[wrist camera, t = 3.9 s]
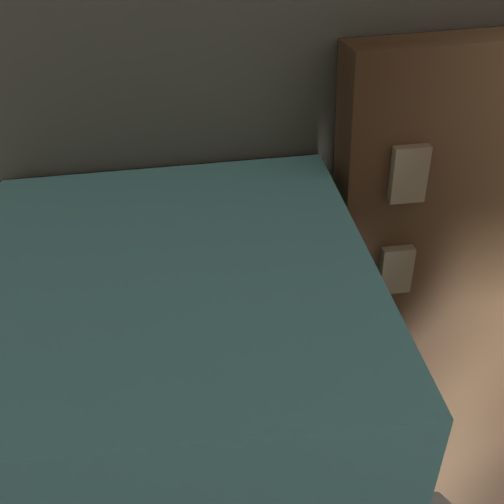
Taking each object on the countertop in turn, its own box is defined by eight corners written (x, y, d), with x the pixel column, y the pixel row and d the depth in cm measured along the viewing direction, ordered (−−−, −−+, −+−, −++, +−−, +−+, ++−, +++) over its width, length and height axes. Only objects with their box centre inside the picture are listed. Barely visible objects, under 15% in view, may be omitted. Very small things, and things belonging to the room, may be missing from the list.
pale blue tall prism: (130, 516, 15) (90, 791, 10) (2, 180, 9) (-275, 490, 4) (312, 498, 16) (359, 761, 11) (320, 154, 9) (453, 419, 4)
